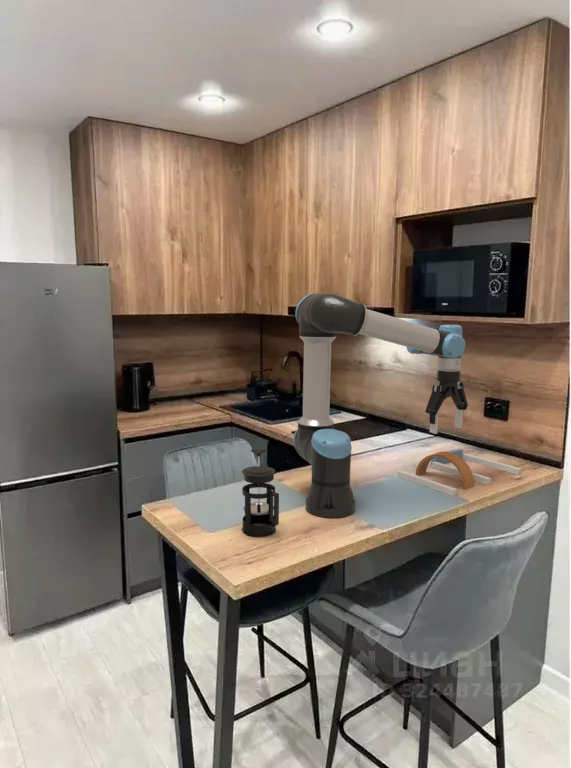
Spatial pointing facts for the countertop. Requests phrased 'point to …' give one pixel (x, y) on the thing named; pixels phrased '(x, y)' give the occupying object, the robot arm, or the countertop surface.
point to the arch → (455, 460)
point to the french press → (259, 510)
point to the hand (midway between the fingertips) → (446, 430)
